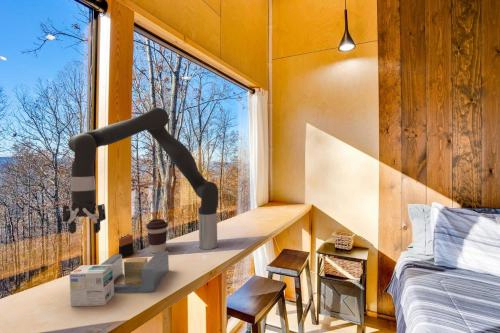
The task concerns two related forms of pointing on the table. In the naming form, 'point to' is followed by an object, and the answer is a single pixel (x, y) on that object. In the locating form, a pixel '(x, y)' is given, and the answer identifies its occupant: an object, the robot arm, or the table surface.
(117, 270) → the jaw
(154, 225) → the coffee cup
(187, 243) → the table surface
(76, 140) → the robot arm
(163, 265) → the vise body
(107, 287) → the light bulb box
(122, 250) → the battery
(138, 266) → the block
